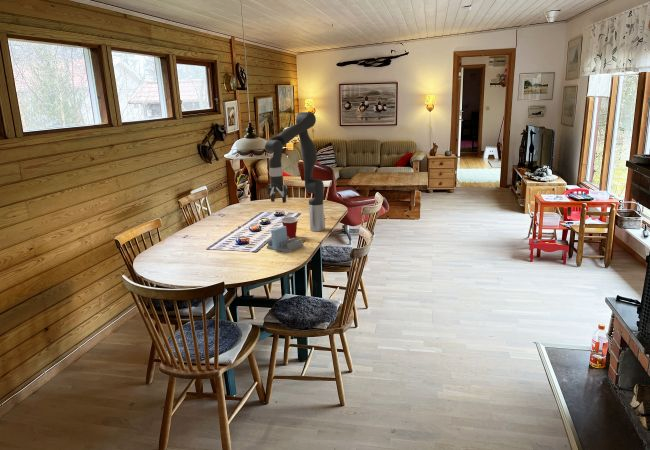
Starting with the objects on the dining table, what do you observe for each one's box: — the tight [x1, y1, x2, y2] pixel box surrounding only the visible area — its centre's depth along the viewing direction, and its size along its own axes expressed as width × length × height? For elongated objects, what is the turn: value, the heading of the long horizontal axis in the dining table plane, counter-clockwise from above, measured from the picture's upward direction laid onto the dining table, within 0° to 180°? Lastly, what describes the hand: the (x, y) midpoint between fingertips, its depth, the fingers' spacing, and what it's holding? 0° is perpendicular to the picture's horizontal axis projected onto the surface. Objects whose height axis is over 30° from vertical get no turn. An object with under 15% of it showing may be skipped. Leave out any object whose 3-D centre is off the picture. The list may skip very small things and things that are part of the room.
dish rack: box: [266, 237, 304, 253], centre depth 274 cm, size 14×16×4 cm
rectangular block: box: [270, 225, 287, 249], centre depth 270 cm, size 10×2×11 cm, turn 144°
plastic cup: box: [280, 216, 299, 239], centre depth 292 cm, size 11×11×12 cm
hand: (278, 202), depth 277 cm, fingers open, 8 cm apart
